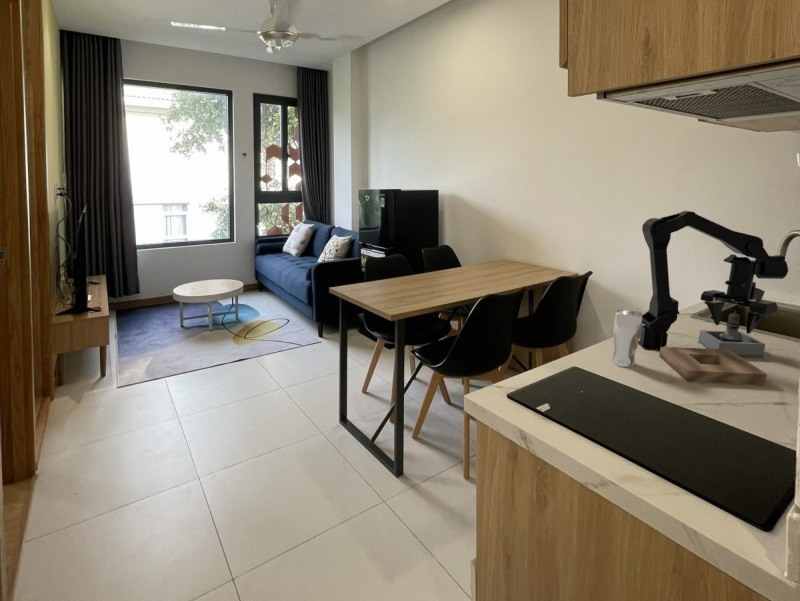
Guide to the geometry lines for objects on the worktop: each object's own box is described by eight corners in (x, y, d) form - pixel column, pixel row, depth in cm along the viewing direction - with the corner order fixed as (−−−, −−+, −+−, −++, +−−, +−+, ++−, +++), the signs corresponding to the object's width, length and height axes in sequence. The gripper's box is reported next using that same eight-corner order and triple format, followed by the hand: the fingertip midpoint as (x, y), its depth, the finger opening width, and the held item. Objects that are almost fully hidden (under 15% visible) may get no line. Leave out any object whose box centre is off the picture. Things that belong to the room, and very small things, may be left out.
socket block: (686, 381, 117) (688, 370, 116) (659, 356, 134) (660, 346, 133) (765, 385, 114) (767, 374, 113) (726, 359, 131) (728, 349, 130)
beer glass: (631, 370, 124) (637, 317, 121) (605, 363, 129) (611, 312, 126) (641, 363, 129) (647, 312, 125) (615, 357, 134) (621, 307, 130)
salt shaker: (729, 351, 135) (736, 313, 133) (712, 345, 141) (718, 308, 138) (746, 350, 137) (752, 311, 134) (728, 343, 142) (734, 306, 139)
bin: (717, 355, 134) (719, 342, 133) (698, 342, 146) (700, 330, 145) (762, 357, 132) (765, 344, 131) (739, 343, 144) (741, 331, 143)
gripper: (795, 281, 128) (784, 334, 132) (727, 271, 145) (719, 318, 149) (769, 285, 124) (758, 339, 128) (703, 273, 141) (695, 322, 145)
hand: (732, 329), depth 137 cm, fingers open, 9 cm apart
